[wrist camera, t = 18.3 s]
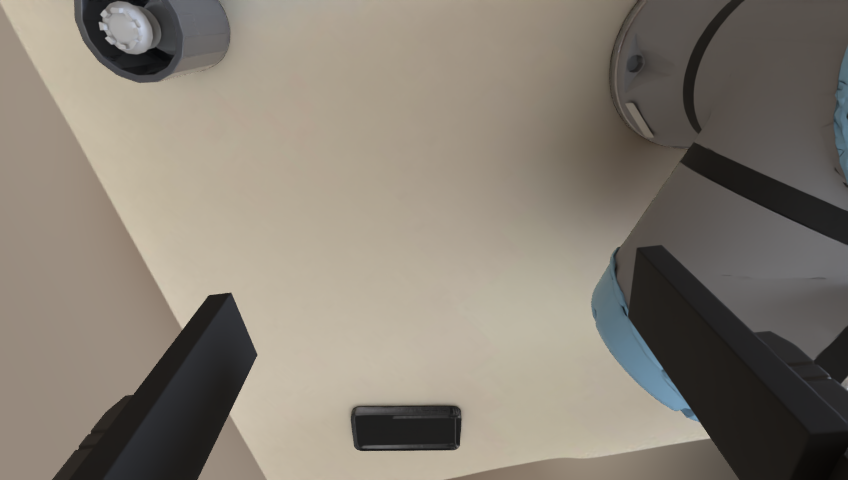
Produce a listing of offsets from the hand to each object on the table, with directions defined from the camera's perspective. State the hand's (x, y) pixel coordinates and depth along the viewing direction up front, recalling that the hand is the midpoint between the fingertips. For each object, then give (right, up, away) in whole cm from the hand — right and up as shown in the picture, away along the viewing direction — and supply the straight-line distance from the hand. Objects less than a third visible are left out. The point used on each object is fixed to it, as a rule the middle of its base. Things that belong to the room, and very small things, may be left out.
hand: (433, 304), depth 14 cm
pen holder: (-20, +20, +22) cm, 36 cm away
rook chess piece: (-21, +20, +21) cm, 36 cm away
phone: (-3, -24, +45) cm, 51 cm away
